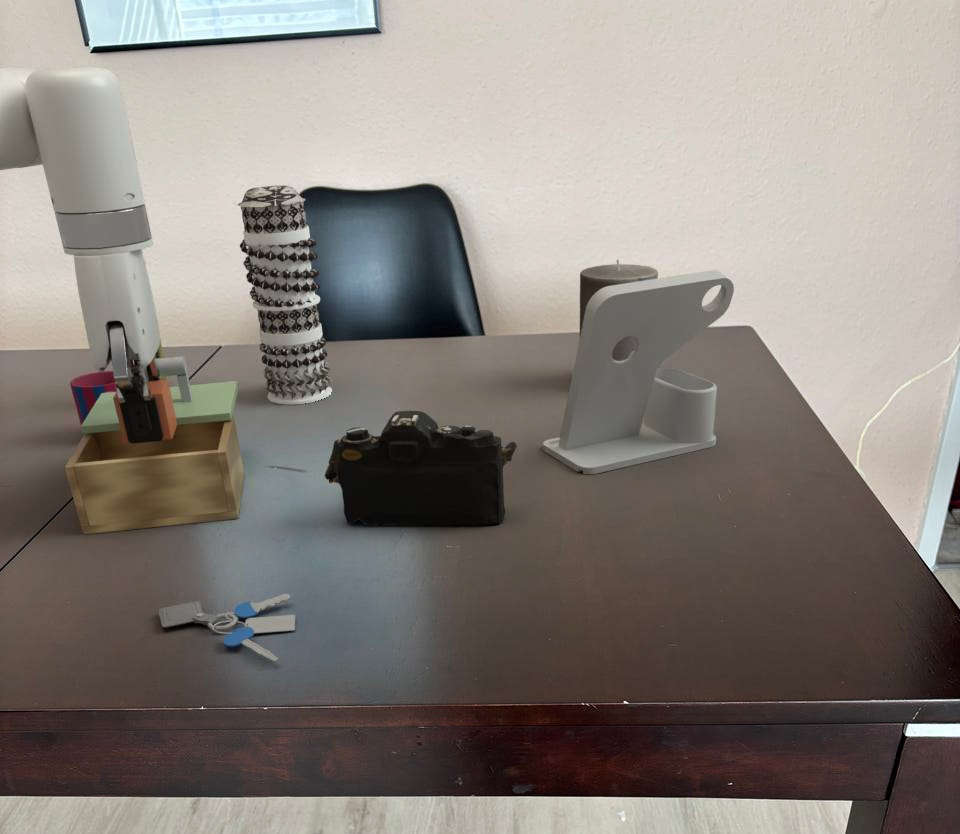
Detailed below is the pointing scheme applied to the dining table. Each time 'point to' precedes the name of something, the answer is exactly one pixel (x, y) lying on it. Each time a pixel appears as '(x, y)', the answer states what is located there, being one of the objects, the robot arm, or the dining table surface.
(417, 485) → the film camera
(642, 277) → the pillar candle
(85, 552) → the dining table surface
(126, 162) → the robot arm
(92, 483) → the box
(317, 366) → the decorative candle
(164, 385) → the block
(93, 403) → the mug
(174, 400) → the slide lid
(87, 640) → the dining table surface
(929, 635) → the dining table surface
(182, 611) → the key chain
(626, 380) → the phone holder
